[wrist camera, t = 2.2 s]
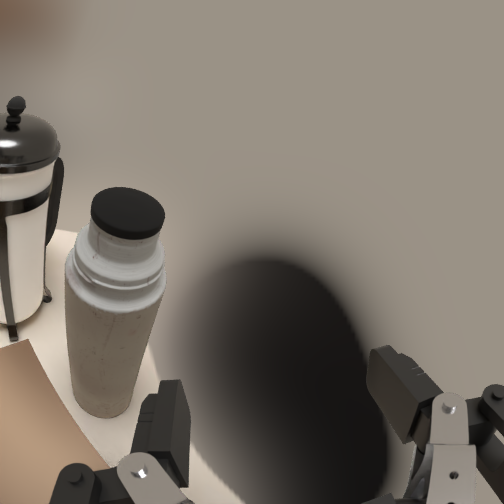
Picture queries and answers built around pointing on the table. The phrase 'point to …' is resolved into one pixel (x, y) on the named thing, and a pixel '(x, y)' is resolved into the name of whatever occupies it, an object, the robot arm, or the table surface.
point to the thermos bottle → (113, 297)
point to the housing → (35, 430)
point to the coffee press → (26, 210)
